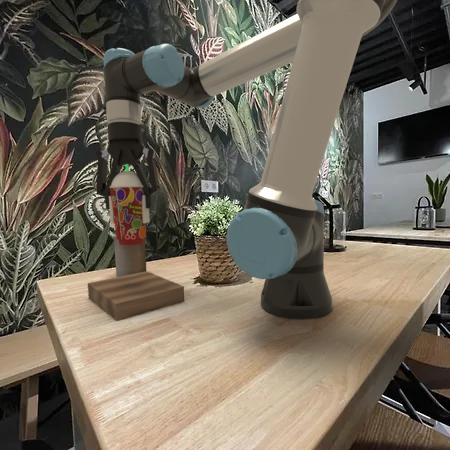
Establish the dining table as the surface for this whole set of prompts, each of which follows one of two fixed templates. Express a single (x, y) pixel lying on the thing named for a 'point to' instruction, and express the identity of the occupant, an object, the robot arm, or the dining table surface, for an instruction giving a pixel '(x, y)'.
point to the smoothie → (128, 208)
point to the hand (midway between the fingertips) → (130, 222)
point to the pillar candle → (129, 258)
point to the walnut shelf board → (134, 294)
